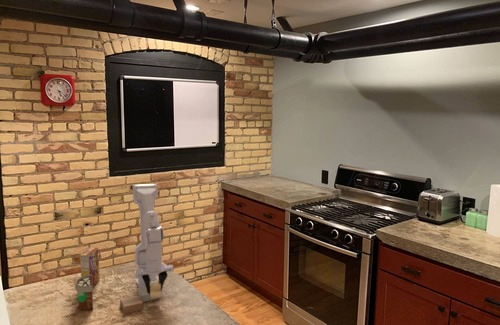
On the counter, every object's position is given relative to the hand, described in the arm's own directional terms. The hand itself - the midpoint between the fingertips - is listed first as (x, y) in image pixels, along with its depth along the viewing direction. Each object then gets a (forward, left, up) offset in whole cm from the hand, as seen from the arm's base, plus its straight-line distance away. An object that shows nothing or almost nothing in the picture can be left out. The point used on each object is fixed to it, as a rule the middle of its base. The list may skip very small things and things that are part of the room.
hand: (154, 291), depth 147 cm
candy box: (-28, -21, -5) cm, 35 cm away
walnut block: (-1, -9, -6) cm, 10 cm away
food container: (-10, -25, -5) cm, 27 cm away
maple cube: (0, 0, -2) cm, 2 cm away
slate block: (-7, -1, -6) cm, 9 cm away
